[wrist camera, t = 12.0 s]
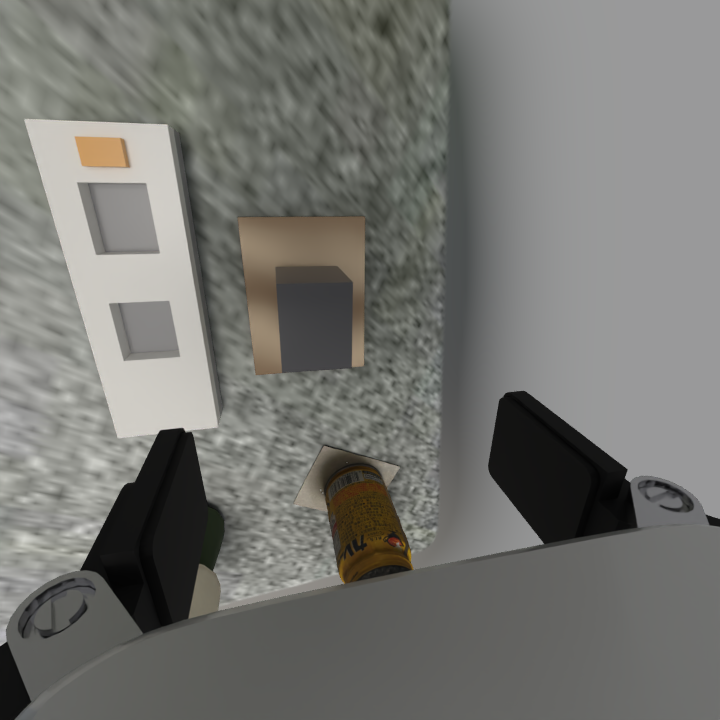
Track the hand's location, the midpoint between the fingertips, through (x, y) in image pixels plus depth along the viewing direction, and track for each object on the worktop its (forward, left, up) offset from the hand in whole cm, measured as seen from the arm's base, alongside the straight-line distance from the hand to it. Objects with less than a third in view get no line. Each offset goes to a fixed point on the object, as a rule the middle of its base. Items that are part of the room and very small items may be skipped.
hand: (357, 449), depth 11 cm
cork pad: (0, 0, -20) cm, 20 cm away
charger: (0, 0, -20) cm, 20 cm away
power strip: (-1, -11, -20) cm, 23 cm away
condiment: (+19, +3, -21) cm, 28 cm away
